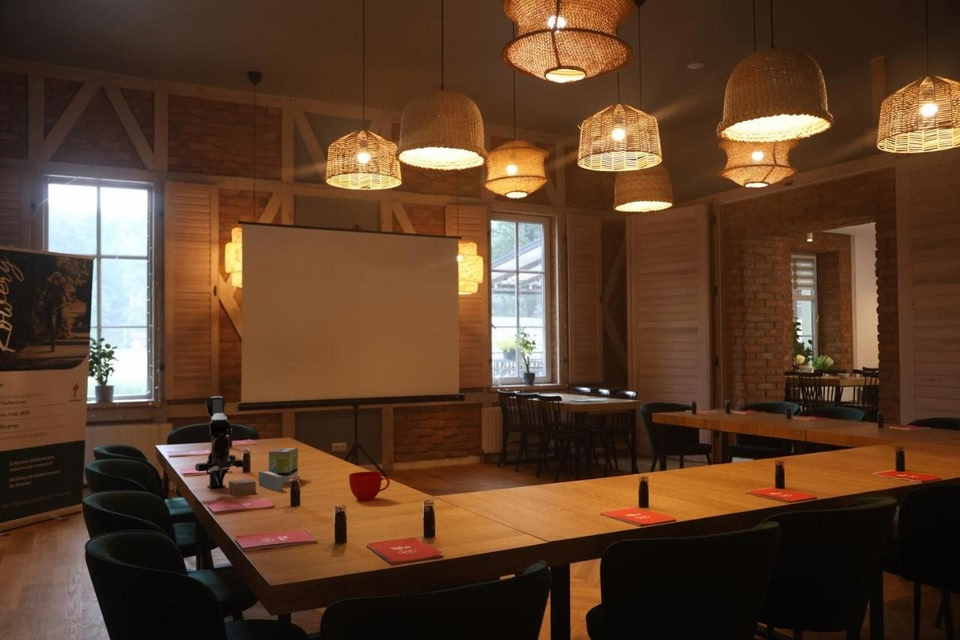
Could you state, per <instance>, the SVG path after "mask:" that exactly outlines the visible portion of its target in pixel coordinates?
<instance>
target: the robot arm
mask: <svg viewBox="0 0 960 640" xmlns="http://www.w3.org/2000/svg"><path fill="white" fill-rule="evenodd" d="M226 399H227V398H224V397H223V396H221V395H220V396H211V397H210V398H207V399H206V400H205V410H207V415H208V416H209V417H210V422H209V436H210V438H211V441H210V443H211V445H210V447H211V451H210V453H209V454H208V456H207V460H206V462H197V463H196V464H195V465H194V466H195V467H194V470H195V471H196V472H206V473H205V474H206V475H209V485H207V488H209V489H218V488H225V487H227V486H226V485H225V484H224V479H225V476H226V474H227V473H228V472H229V471H231V467H235V468H244V467H245V466H244V465H245V463H244V460H242V459H240V458H237V459H236V455H235V454H232V455H229V452H228V447H229V441H228V439H227V436H230V435H231V433H232V428H231V423H230V421H229V420H228V416H226V415H225V414H224V412H225V409H226V407H227V400H226Z"/></svg>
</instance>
